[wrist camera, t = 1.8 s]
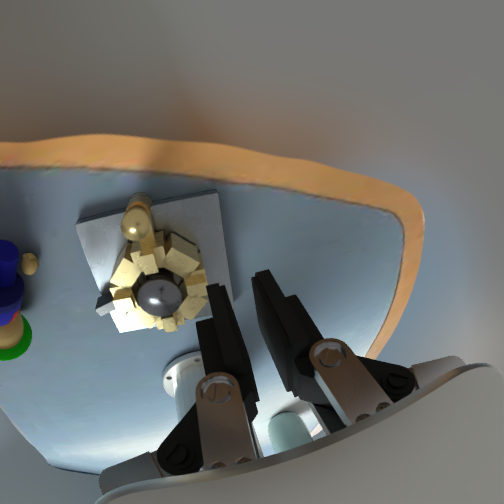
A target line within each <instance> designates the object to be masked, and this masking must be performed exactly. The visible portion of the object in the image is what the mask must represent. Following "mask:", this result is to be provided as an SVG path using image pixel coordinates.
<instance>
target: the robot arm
mask: <svg viewBox="0 0 504 504" xmlns="http://www.w3.org/2000/svg"><path fill="white" fill-rule="evenodd" d="M251 281H252V287H253V293H254V299H255V305H256V311H257V317H258V323H259V327H260V330H261V333H262V335H263V337H264V340H265V342H266V344H267V347H268V349H269V351H270V354H271V356H272V359H273V361H274V363H275V366H276V368H277V370H278V372H279V375H280V377H281V379H282V382H283V384H284V386H285V389H286V391H287V392H289V391H292V392H293V395H294V397H297V396H299V398H300V399H301V400H304V401H307V402H308V404H309V406H310V408H311V409H312V411H313V413H314V414H315V416H316V418H317V420H318V421H319V423H320V425H321V426H322V428H323V430H324V431H325V433H326V435H327V436H325V437H322V438H320V439H317V440H315V441H312V442H309V443H306V444H304V445H301V446H298V447H295V448H292V449H289V450H286V451H283V452H280V453H277V454H274V455H270V456H267V457H264V456H263V453H262V450H261V447H260V444H259V441H258V438H257V435H256V432H255V429H254V426H253V423H252V421H253V420H254V418H255V417H256V415H257V414H258V410H257V407H256V403H255V402H258V401H260V400H259V396H258V392H257V387H256V383H255V379H254V375H253V371H252V366H251V362H250V359H249V355H248V352H247V349H246V346H245V343H244V340H243V338H242V335H241V332H240V329H239V326H238V323H237V320H236V317H235V314H234V311H233V308H232V305H231V302H230V299H229V296H228V293H227V290H226V287H225V285H221V286H220V285H219V282H218V283H215V284H211V285H207V286H206V290H207V294H208V298H209V303H210V307H211V311H212V315H213V318H209V319H205V320H202V321H198V322H196V328H197V334H198V339H199V345H200V350H201V351H196V352H192V353H188V354H185V355H183V356H181V357H178V358H177V359H175V360H174V361H172V362H171V363H170V364H169V365H168V366H167V367H166V368H165V370H164V372H163V376H162V378H163V386H164V389H165V390H166V392H167V393H168V394H169V395H171V396H172V397H174V398H175V402H176V409H177V416H178V424H177V426H176V427H175V428H174V429H173V430H172V432H171V433H170V434H169V435H168V436H167V438H166V439H165V440H164V441H163V442H162V444H161V445H160V447H159V448H158V450H156V451H154V452H152V453H150V452H149V451H148V452H146V453H144V454H141V455H139V456H137V457H134V458H132V459H129V460H127V461H124V462H122V463H119V464H116V465H114V466H111V467H108V468H106V469H105V470H103V471H102V472H101V474H100V475H99V480H98V481H99V487H100V489H101V491H102V494H103V496H102V497H100V498H99V499H98V500H97V501H96V503H95V504H504V374H503V373H502V372H501V371H500V370H499V369H498V368H496V367H495V366H493V365H490V364H487V363H474V364H468V365H466V364H465V363H464V361H463V360H462V359H460V358H459V357H456V356H447V357H444V358H440V359H436V360H432V361H427V362H423V363H419V364H415V365H412V366H411V368H406V367H403V366H400V365H395V364H390V363H386V362H381V361H377V360H373V359H369V358H365V357H360V356H356V355H355V354H354V352H353V351H352V350H351V349H350V347H349V346H348V345H347V344H346V343H345V342H343V341H341V340H339V339H334V338H326V339H324V338H323V337H322V335H321V333H320V332H319V330H318V329H317V327H316V325H315V324H314V322H313V321H312V319H311V317H310V316H309V314H308V313H307V311H306V309H305V308H304V306H303V305H302V303H301V302H300V300H299V298H298V297H297V296H296V295H292V296H288V297H285V296H284V294H283V293H282V291H281V289H280V287H279V286H278V284H277V282H276V281H275V279H274V277H273V275H272V274H271V272H270V270H269V269H267V270H264V271H260V272H256V273H255V277H251Z"/></svg>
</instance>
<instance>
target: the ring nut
mask: <svg viewBox="0 0 504 504" xmlns="http://www.w3.org/2000/svg"><path fill="white" fill-rule="evenodd" d="M152 208H153V201H152V198H151V197H150V196H149V195H148V194H146V193H143V192H139V193H136V194H134V195H133V196H132V197H131V198H130V200H129V203H128V205H127V208H126V211H125V213H124V216H123V219H122V222H121V232H122V234H123V235H124V236H125V237H126V238H127V239H129V240H133V243H132V244H131V243H129V242H127V244H126V245H125V247H124V249H123V250H122V252H121V254H120V255H119V257H118V259H117V261H116V262H115V264H114V268H113V271H112V275H111V279H110V282H111V285H110V291H111V293H112V295H113V303H114V305H115V307H116V310H117V311H120V312H126V316H125V317H126V318H128V319H130V320H132V321H134V322H137V323H139V324H141V325H144V326H146V327H148V328H152V326H153V325H154V324H155V323H156V325H157V328H158V329H163V328H165V331H166V333H167V332H172V331H177V330H178V328H177V326H178V325H183V324H185V318H187V319H189V320H193V318H194V317H195V316H196V315H197V314H198V312H199V311H200V310H201V309H202V308H203V306H204V305H205V304H206V303H207V302H208V298H207V295H208V294H207V290H206V286H207V285H208V283H207V279H206V274H205V269H204V265H203V260H202V256H201V253H198V251H197V247H196V246H194V245H192V244H191V243H189V242H187V241H185V240H184V239H182V238H180V237H179V236H177V235H175V234H174V233H172V232H171V233H170V235H169V236H168V238H167V239H166V240H165V236H164V232H163V231H161V232H155V228H154V224H153V220H152V216H151V214H152ZM162 267H164V268H166V269H168V270H170V271H172V272H174V273H176V274H178V275H180V276H182V277H183V278H184V281H183V282H182V283H181V285H180V286H179V288H180V290H181V294H182V303H181V305H180V307H179V309H178V310H177V311H176V312H174V313H173V314H171V315H168V316H162V317H159V316H153V315H150V314H148V313H146V312H145V311H144V310H142V308H141V307H140V305H139V303H138V290H139V288H140V287H139V285H138V282H137V278H138V276H139V275H140V273H141V272H143V271H144V273H145V275H148V274H153V273H157V272H159V268H162Z"/></svg>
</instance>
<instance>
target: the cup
mask: <svg viewBox="0 0 504 504" xmlns="http://www.w3.org/2000/svg"><path fill="white" fill-rule="evenodd" d="M268 433H269V438H270V441H271V444H272V447H273V450H274V453H275V454H277V453H280V452H283V451H286V450H289V449H292V448H295V447H298V446H301V445H304V444H306V443H309V442H312V441H313V439H312V437H311V435H310V433H309V431H308V429H307V427H306V425H305V423H304V422H303V420H302V419H301V417H300V416H299V415H297V414H296V413H293V412H285V413H281V414H278V415H276V416H275V417H273V418H272V419H271V421H270V422H269V425H268Z"/></svg>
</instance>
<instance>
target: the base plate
mask: <svg viewBox="0 0 504 504" xmlns="http://www.w3.org/2000/svg"><path fill="white" fill-rule="evenodd" d="M125 211H126V208H123V209H119V210H115V211H111V212H107V213H103V214H99V215H95V216H91V217H87V218H84V219H80V220H78V221H77V222H76V224H75V228H76V231H77V234H78V236H79V239H80V242H81V245H82V248H83V250H84V253H85V255H86V258H87V261H88V263H89V266H90V268H91V271H92V273H93V275H94V278H95V280H96V283H97V285H98V287H99V289H100V292H101V294H102V296H101V297H99V298H98V301H97V305H96V309H95V310H96V311H97V312H98V313H99V315H100V316H102V315H105V314H107V313H109V312H110V313H111V315H112V317H113V319H114V322H115V324H116V325H117V327H118V329H119V331H120V333H121V332H127V331H132V330H138V329H143V328H148V327H146V326H144V325H141V324H139V323H137V322H134V321H132V320H130V319H128V318H126V317H125V316H126V312H120V311H117V310H116V307H115V305H114V303H113V295H112V293H111V291H110V285H111V282H110V279H111V275H112V271H113V268H114V264H115V262H116V261H117V259H118V257H119V255H120V254H121V252H122V250H123V249H124V247H125V245H126V244H127V242H129V243H131V244H132V243H133V240H129V239H127V238H126V237H125V236H124V235H123V234H122V232H121V222H122V219H123V216H124V213H125ZM151 216H152V220H153V224H154V228H155V232H161V231H163V232H164V236H165V240H166V239H167V238H168V236H169V235H170V233H171V232H172V233H174V234H175V235H177V236H179V237H180V238H182V239H184V240H185V241H187V242H189V243H191V244H192V245H194V246H196V247H197V251H198V253H201V256H202V260H203V265H204V269H205V274H206V279H207V283H208V285H211V284H215V283H218V282H219V285H220V286H221V285H225V287H226V290H227V293H228V296H229V299H230V302H231V305H232V308H233V310H235V307H234V301H233V294H232V288H231V281H230V275H229V268H228V261H227V255H226V248H225V241H224V234H223V226H222V219H221V212H220V204H219V197H218V192H217V190H216V189H214V190H209V191H203V192H198V193H193V194H187V195H182V196H177V197H172V198H168V199H163V200H158V201H154V202H153V208H152V214H151ZM183 281H184V278H183V277H182V276H180V275H178V274H176V273H174V272H172V271H170V270H168V269H166V268H164V267H162V268H159V272H157V273H153V274H148V275H145V273H144V271H143V272H141V273H140V275H139V276H138V278H137V282H138V285H139V287H140V288H139V290H138V303H139V305H140V307H141V308H142V310H144V311H145V312H146V313H148V314H150V315H153V316H159V317H162V316H168V315H171V314H173V313H174V312H176V311H177V310H178V309H179V307H180V305H181V303H182V294H181V290H180V288H179V286H180V285H181V283H182V282H183ZM207 298H208V295H207ZM208 315H212V311H211V307H210V303H209V298H208V302H207V303H206V304H205V305H204V306H203V308H202V309H201V310H200V311H199V312H198V314H197V315H196V316H195V317H194V318H199V317H204V316H208ZM194 318H193V319H194ZM185 320H189V319H187V318H185ZM154 326H157V325H156V323H155V324H154V325H153V326H152V327H154Z"/></svg>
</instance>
